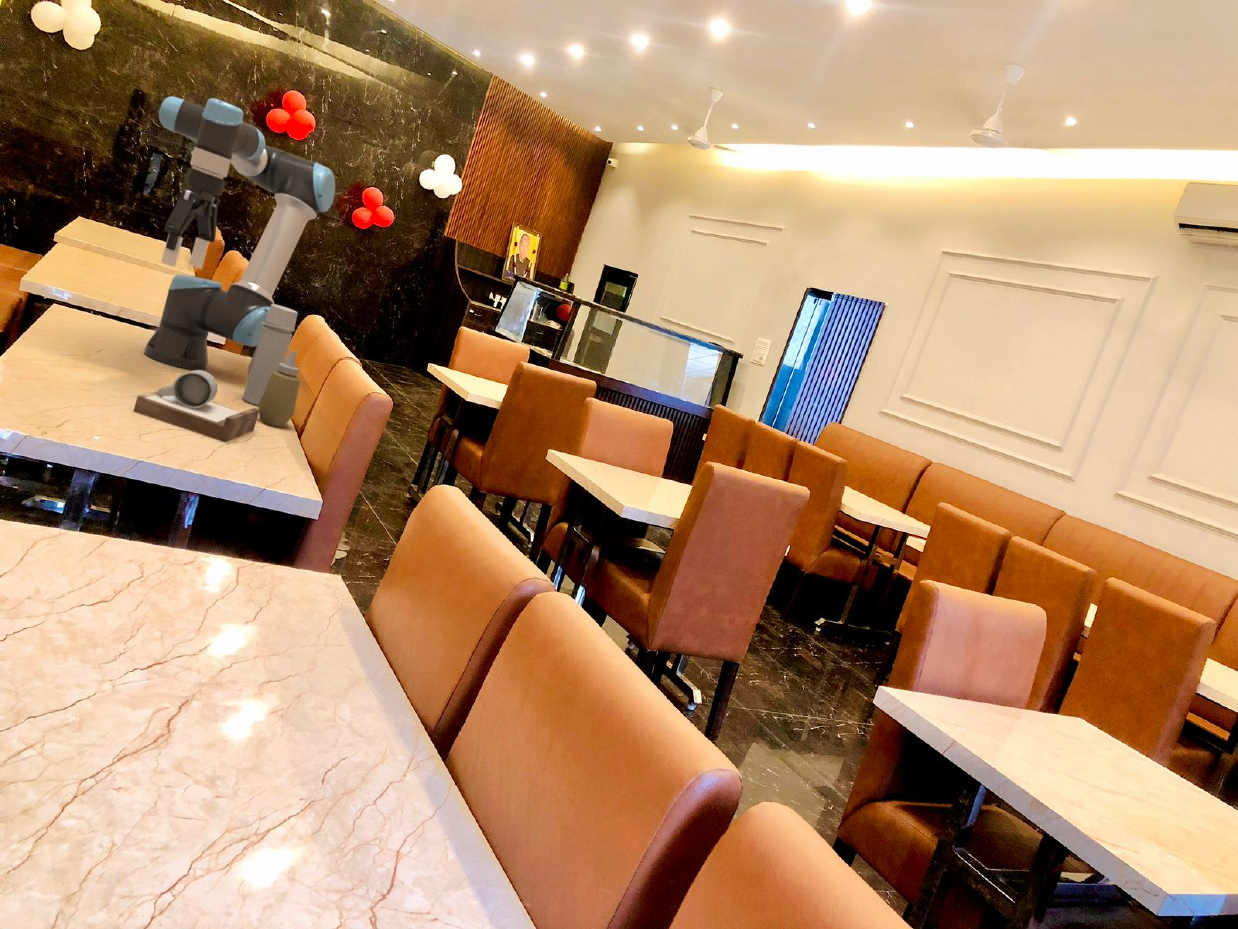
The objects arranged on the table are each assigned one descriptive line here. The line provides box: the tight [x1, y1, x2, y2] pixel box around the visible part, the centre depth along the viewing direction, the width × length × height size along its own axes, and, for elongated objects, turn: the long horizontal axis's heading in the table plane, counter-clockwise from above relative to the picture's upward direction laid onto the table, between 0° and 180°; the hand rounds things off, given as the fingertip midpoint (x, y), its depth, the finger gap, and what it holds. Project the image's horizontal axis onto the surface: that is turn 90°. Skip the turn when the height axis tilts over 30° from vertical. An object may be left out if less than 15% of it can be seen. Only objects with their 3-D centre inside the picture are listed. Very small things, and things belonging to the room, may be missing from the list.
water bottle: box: [242, 303, 298, 406], centre depth 220 cm, size 9×8×25 cm
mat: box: [145, 394, 241, 423], centre depth 187 cm, size 14×15×1 cm
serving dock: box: [133, 390, 260, 443], centre depth 188 cm, size 16×19×5 cm
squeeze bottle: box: [258, 350, 301, 428], centre depth 207 cm, size 8×8×18 cm
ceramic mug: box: [158, 370, 219, 408], centre depth 186 cm, size 11×8×8 cm
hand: (182, 265), depth 196 cm, fingers open, 13 cm apart
